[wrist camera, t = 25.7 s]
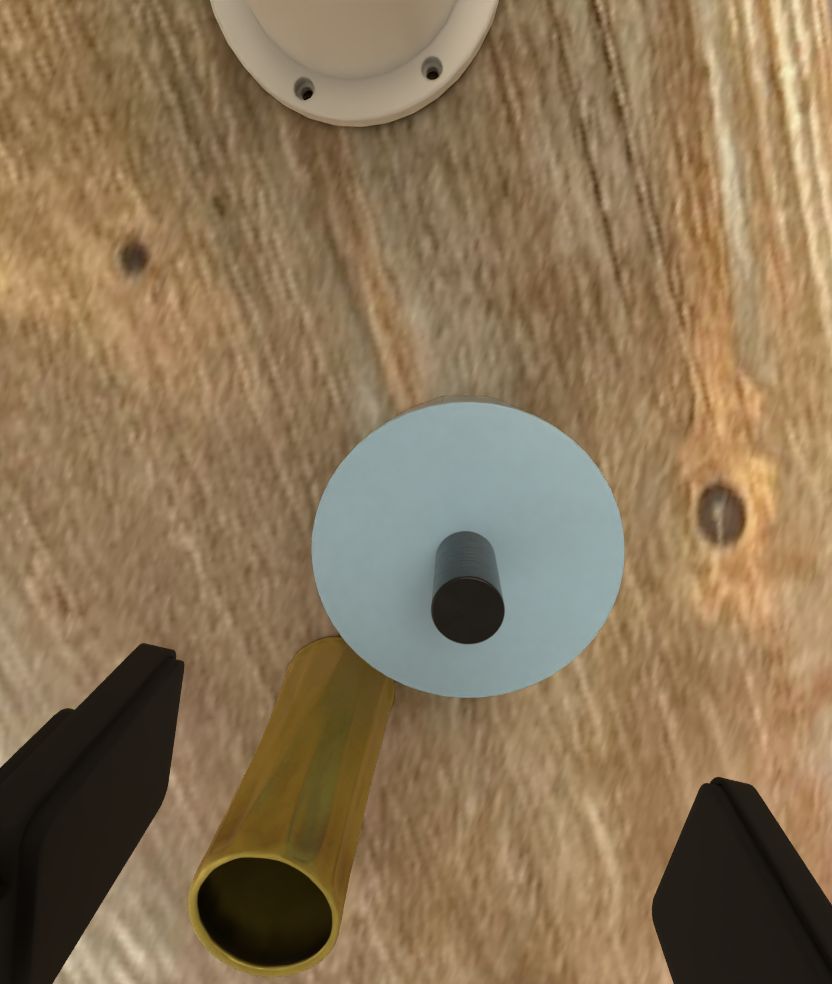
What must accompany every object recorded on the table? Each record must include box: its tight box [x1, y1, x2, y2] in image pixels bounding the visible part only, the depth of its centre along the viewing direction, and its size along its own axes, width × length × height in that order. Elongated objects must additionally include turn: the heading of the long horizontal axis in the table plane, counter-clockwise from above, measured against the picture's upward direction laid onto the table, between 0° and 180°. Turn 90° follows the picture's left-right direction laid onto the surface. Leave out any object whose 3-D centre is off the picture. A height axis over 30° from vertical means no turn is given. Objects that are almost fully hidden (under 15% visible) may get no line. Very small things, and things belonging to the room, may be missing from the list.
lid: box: [311, 401, 625, 698], centre depth 23 cm, size 13×13×6 cm
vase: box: [188, 637, 395, 977], centre depth 27 cm, size 6×6×14 cm
